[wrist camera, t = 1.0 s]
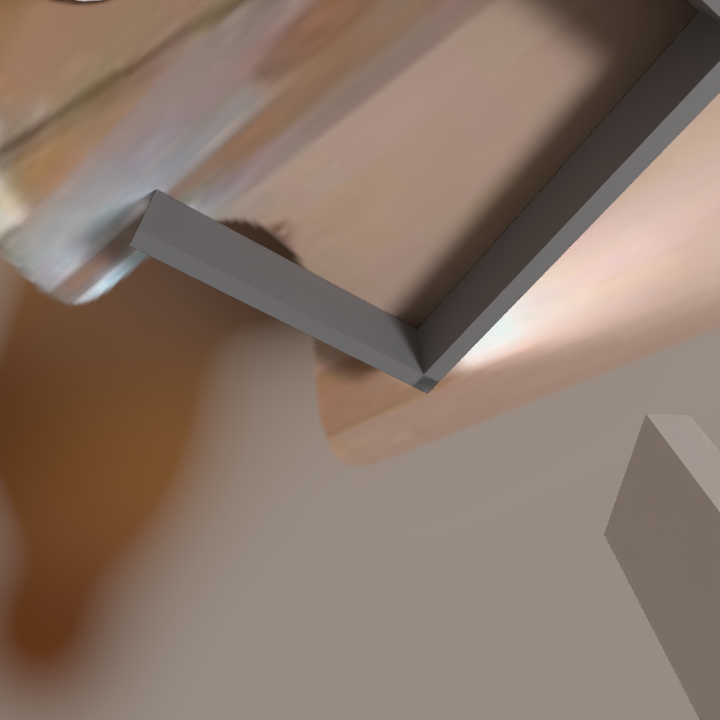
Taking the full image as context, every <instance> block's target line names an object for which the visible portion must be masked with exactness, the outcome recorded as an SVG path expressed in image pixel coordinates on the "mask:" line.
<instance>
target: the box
mask: <svg viewBox="0 0 720 720" xmlns="http://www.w3.org/2000/svg"><path fill="white" fill-rule="evenodd" d="M687 1H688V2H689V3H690V4H691V5H692V6H693V7H694V8H695V9H696V10H698V11H699V12H698V14H697V15H696V16H695V17H694V18H693V19H692V20H691V21H690V23H689V24H688V25H687V26H686V27H685V28H684V29H683V30H682V32H681V33H680V34H679V35H678V36H677V37H676V38H675V40H674V41H673V42H672V43H671V44H670V45H669V46H668V47H667V49H666V50H665V51H664V52H663V53H662V54H661V55H660V56H659V58H658V59H657V60H656V61H655V62H654V63H653V64H652V65H651V67H650V68H649V69H648V70H647V71H646V72H645V73H644V74H643V76H642V77H641V78H640V79H639V80H638V81H637V82H636V83H635V85H634V86H633V87H632V88H631V89H630V90H629V91H628V93H627V94H626V95H625V96H624V97H623V98H622V99H621V100H620V102H619V103H618V104H617V105H616V106H615V107H614V108H613V109H612V111H611V112H610V113H609V114H608V115H607V116H606V117H605V118H604V120H603V121H602V122H601V123H600V124H599V125H598V126H597V127H596V129H595V130H594V131H593V132H592V133H591V134H590V135H589V137H588V138H587V139H586V140H585V141H584V142H583V143H582V144H581V146H580V147H579V148H578V149H577V150H576V151H575V152H574V153H573V155H572V156H571V157H570V158H569V159H568V160H567V161H566V162H565V164H564V165H563V166H562V167H561V168H560V169H559V170H558V171H557V173H556V174H555V175H554V176H553V177H552V178H551V179H550V181H549V182H548V183H547V184H546V185H545V186H544V187H543V188H542V190H541V191H540V192H539V193H538V194H537V195H536V196H535V197H534V199H533V200H532V201H531V202H530V203H529V204H528V205H527V206H526V208H525V209H524V210H523V211H522V212H521V213H520V214H519V215H518V217H517V218H516V219H515V220H514V221H513V222H512V223H511V224H510V226H509V227H508V228H507V229H506V230H505V231H504V232H503V234H502V235H501V236H500V237H499V238H498V239H497V240H496V241H495V243H494V244H493V245H492V246H491V247H490V248H489V249H488V250H487V252H486V253H485V254H484V255H483V256H482V257H481V258H480V259H479V261H478V262H477V263H476V264H475V265H474V266H473V267H472V268H471V270H470V271H469V272H468V273H467V274H466V275H465V276H464V278H463V279H462V280H461V281H460V282H459V283H458V284H457V285H456V287H455V288H454V289H453V290H452V291H451V292H450V293H449V294H448V296H447V297H446V298H445V299H444V300H443V301H442V302H441V303H440V305H439V306H438V307H437V308H436V309H435V310H434V311H433V312H432V314H431V315H430V316H429V317H428V318H427V319H426V320H425V322H424V323H423V324H422V325H421V326H420V327H419V328H418V329H416V328H414V327H412V326H410V325H408V324H407V323H405V322H403V321H401V320H399V319H397V318H395V317H393V316H392V315H390V314H388V313H386V312H384V311H382V310H380V309H379V308H377V307H375V306H373V305H371V304H369V303H367V302H366V301H364V300H362V299H360V298H358V297H356V296H354V295H352V294H351V293H349V292H347V291H345V290H343V289H341V288H339V287H338V286H336V285H334V284H332V283H330V282H328V281H326V280H325V279H323V278H321V277H319V276H317V275H315V274H313V273H311V272H310V271H308V270H306V269H304V268H302V267H300V266H298V265H296V264H295V263H293V262H291V261H289V260H287V259H285V258H283V257H282V256H280V255H278V254H276V253H274V252H272V251H270V250H269V249H267V248H265V247H263V246H261V245H259V244H257V243H256V242H254V241H252V240H250V239H248V238H246V237H244V236H243V235H241V234H239V233H237V232H235V231H233V230H231V229H229V228H228V227H226V226H224V225H222V224H220V223H218V222H216V221H215V220H213V219H211V218H209V217H207V216H205V215H203V214H202V213H200V212H198V211H196V210H194V209H192V208H190V207H189V206H187V205H185V204H183V203H181V202H179V201H177V200H175V199H174V198H172V197H170V196H168V195H166V194H164V193H162V192H161V191H159V190H156V192H155V194H154V196H153V198H152V200H151V202H150V204H149V206H148V208H147V210H146V212H145V214H144V216H143V218H142V220H141V222H140V224H139V226H138V228H137V231H136V233H135V235H134V237H133V239H132V241H131V243H130V245H129V246H131V247H133V248H135V249H137V250H139V251H141V252H143V253H145V254H147V255H149V256H151V257H153V258H155V259H157V260H159V261H161V262H163V263H165V264H168V265H169V266H171V267H174V268H175V269H177V270H179V271H181V272H184V273H186V274H188V275H189V276H191V277H193V278H196V279H197V280H200V281H201V282H203V283H205V284H208V285H210V286H212V287H214V288H216V289H218V290H220V291H222V292H224V293H226V294H228V295H230V296H232V297H234V298H236V299H238V300H240V301H242V302H244V303H246V304H248V305H250V306H252V307H254V308H256V309H258V310H260V311H262V312H264V313H266V314H268V315H270V316H272V317H274V318H276V319H278V320H280V321H282V322H284V323H286V324H288V325H290V326H292V327H294V328H296V329H298V330H300V331H302V332H304V333H306V334H308V335H310V336H312V337H314V338H316V339H318V340H320V341H322V342H324V343H326V344H328V345H330V346H332V347H334V348H336V349H338V350H340V351H342V352H344V353H346V354H348V355H350V356H352V357H354V358H356V359H358V360H360V361H362V362H365V363H367V364H369V365H371V366H373V367H375V368H377V369H379V370H381V371H383V372H385V373H387V374H389V375H391V376H393V377H395V378H397V379H399V380H401V381H403V382H405V383H407V384H409V385H411V386H413V387H415V388H417V389H419V390H421V391H423V392H425V393H427V394H428V393H429V392H430V391H431V390H432V389H433V388H434V387H435V385H436V384H437V383H438V382H439V381H440V380H441V379H442V378H443V377H444V376H445V375H446V374H447V373H448V372H449V371H450V370H451V369H452V368H453V367H454V366H455V365H456V364H457V363H458V362H459V361H460V360H461V359H462V358H463V357H464V356H465V355H466V354H467V352H468V351H469V350H470V349H471V348H472V347H473V346H474V345H475V344H476V343H477V342H478V341H479V340H480V339H481V338H482V337H483V336H484V335H485V334H486V333H487V332H488V331H489V330H490V329H491V328H492V327H493V326H494V325H495V324H496V323H497V322H498V321H499V320H500V318H501V317H502V316H503V315H504V314H505V313H506V312H507V311H508V310H509V309H510V308H511V307H512V306H513V305H514V304H515V303H516V302H517V301H518V300H519V299H520V298H521V297H522V296H523V295H524V294H525V293H526V292H527V291H528V290H529V289H530V288H531V287H532V285H533V284H534V283H535V282H536V281H537V280H538V279H539V278H540V277H541V276H542V275H543V274H544V273H545V272H546V271H547V270H548V269H549V268H550V267H551V266H552V265H553V264H554V263H555V262H556V261H557V260H558V259H559V258H560V257H561V256H562V255H563V254H564V253H565V251H566V250H567V249H568V248H569V247H570V246H571V245H572V244H573V243H574V242H575V241H576V240H577V239H578V238H579V237H580V236H581V235H582V234H583V233H584V232H585V231H586V230H587V229H588V228H589V227H590V226H591V225H592V224H593V223H594V222H595V221H596V220H597V218H598V217H599V216H600V215H601V214H602V213H603V212H604V211H605V210H606V209H607V208H608V207H609V206H610V205H611V204H612V203H613V202H614V201H615V200H616V199H617V198H618V197H619V196H620V195H621V194H622V193H623V192H624V191H625V190H626V189H627V188H628V187H629V186H630V184H631V183H632V182H633V181H634V180H635V179H636V178H637V177H638V176H639V175H640V174H641V173H642V172H643V171H644V170H645V169H646V168H647V167H648V166H649V165H650V164H651V163H652V162H653V161H654V160H655V159H656V158H657V157H658V156H659V155H660V154H661V153H662V151H663V150H664V149H665V148H666V147H667V146H668V145H669V144H670V143H671V142H672V141H673V140H674V139H675V138H676V137H677V136H678V135H679V134H680V133H681V132H682V131H683V130H684V129H685V128H686V127H687V126H688V125H689V124H690V123H691V122H692V121H693V120H694V119H695V117H696V116H697V115H698V114H699V113H700V112H701V111H702V110H703V109H704V108H705V107H706V106H707V105H708V104H709V103H710V102H711V101H712V100H713V99H714V98H715V97H716V96H717V95H718V94H719V93H720V0H687Z"/></svg>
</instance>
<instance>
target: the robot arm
mask: <svg viewBox="0 0 720 720" xmlns="http://www.w3.org/2000/svg"><path fill="white" fill-rule="evenodd" d="M604 535H605V537H606V539H607V541H608V543H609V544H610V547H611V548H612V551H613V553H614V554H615V556H616V558H617V560H618V562H619V564H620V566H621V568H622V570H623V572H624V574H625V576H626V578H627V580H628V582H629V584H630V585H631V587H632V589H633V591H634V593H635V595H636V597H637V599H638V601H639V603H640V605H641V607H642V609H643V610H644V613H645V614H646V617H647V619H648V621H649V622H650V624H651V626H652V628H653V630H654V632H655V634H656V636H657V638H658V640H659V642H660V644H661V646H662V647H663V650H664V652H665V654H666V655H667V657H668V659H669V661H670V663H671V665H672V667H673V669H674V671H675V673H676V675H677V677H678V679H679V680H680V683H681V685H682V687H683V688H684V690H685V692H686V694H687V696H688V698H689V700H690V702H691V704H692V706H693V708H694V710H695V712H696V714H697V716H698V718H699V720H720V452H719V450H718V449H717V448H716V447H715V446H714V445H713V443H712V442H711V441H710V440H709V439H708V437H707V436H706V435H705V434H704V433H703V431H702V430H701V429H700V428H699V427H698V426H697V424H696V423H695V422H694V421H693V420H692V418H691V417H690V416H689V415H688V416H687V415H662V414H646V416H645V418H644V421H643V424H642V427H641V430H640V433H639V436H638V438H637V441H636V444H635V447H634V450H633V453H632V456H631V459H630V462H629V464H628V467H627V470H626V473H625V476H624V479H623V481H622V485H621V487H620V490H619V493H618V496H617V499H616V502H615V504H614V508H613V510H612V513H611V516H610V519H609V522H608V525H607V527H606V530H605V533H604Z"/></svg>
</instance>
